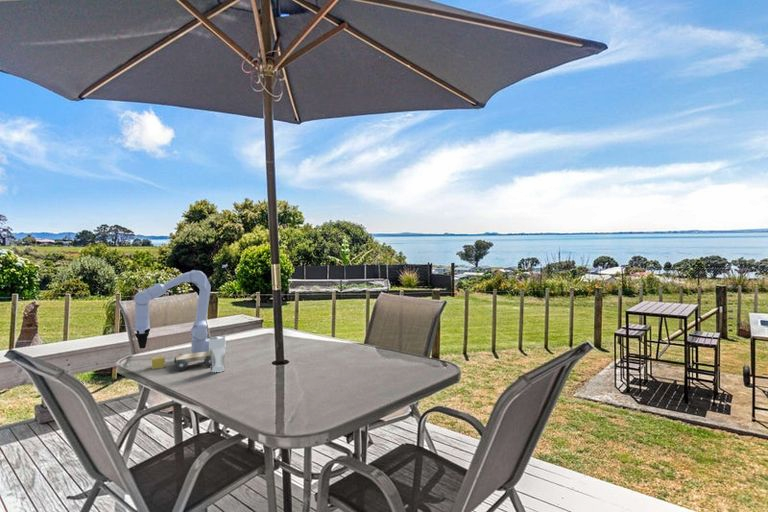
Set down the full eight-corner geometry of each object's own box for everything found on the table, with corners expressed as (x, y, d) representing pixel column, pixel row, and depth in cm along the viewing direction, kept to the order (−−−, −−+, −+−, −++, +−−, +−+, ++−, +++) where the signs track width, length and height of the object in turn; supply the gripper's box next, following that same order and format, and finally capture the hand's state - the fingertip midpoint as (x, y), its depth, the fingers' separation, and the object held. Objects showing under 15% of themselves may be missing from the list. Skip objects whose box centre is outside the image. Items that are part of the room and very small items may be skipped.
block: (164, 365, 184) (164, 356, 184) (164, 367, 181) (164, 358, 181) (152, 367, 182) (152, 357, 182) (152, 369, 178) (151, 359, 178)
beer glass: (205, 372, 172) (205, 338, 172) (219, 368, 178) (218, 335, 178) (216, 374, 169) (215, 339, 169) (229, 370, 175) (229, 336, 175)
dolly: (213, 360, 192) (213, 340, 192) (216, 366, 181) (216, 345, 181) (174, 365, 183) (174, 344, 183) (175, 372, 173) (174, 350, 173)
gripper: (133, 316, 187) (134, 344, 187) (130, 320, 175) (131, 350, 175) (150, 314, 191) (151, 342, 191) (149, 319, 178) (150, 348, 178)
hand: (143, 346), depth 183 cm, fingers open, 7 cm apart
